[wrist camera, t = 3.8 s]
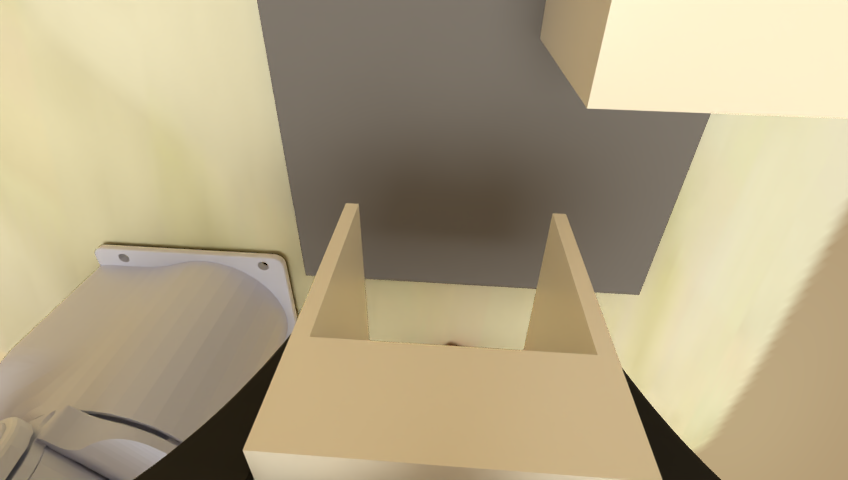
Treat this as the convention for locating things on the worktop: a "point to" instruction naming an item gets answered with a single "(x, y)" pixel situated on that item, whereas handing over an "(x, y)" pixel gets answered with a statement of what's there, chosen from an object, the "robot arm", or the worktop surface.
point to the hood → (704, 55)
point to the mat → (463, 144)
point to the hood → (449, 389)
